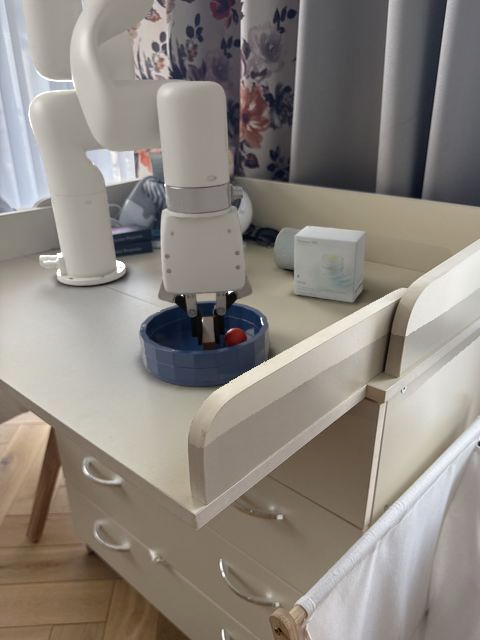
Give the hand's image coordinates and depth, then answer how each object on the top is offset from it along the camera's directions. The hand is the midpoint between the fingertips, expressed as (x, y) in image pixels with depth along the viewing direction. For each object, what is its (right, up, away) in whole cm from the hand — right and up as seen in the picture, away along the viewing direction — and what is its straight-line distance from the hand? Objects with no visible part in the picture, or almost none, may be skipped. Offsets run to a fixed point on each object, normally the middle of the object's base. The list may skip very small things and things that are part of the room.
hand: (209, 339), depth 72 cm
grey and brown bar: (0, -1, 0) cm, 1 cm away
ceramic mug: (+15, +14, +33) cm, 39 cm away
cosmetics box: (+18, +8, +21) cm, 29 cm away
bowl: (0, -2, +1) cm, 2 cm away
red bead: (+4, 0, +1) cm, 4 cm away
